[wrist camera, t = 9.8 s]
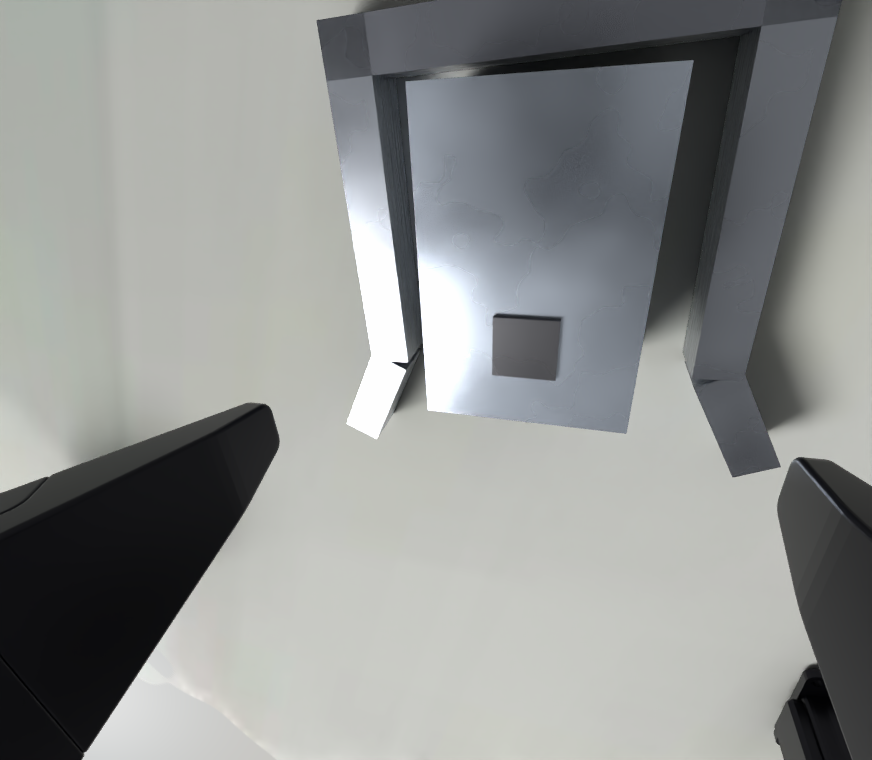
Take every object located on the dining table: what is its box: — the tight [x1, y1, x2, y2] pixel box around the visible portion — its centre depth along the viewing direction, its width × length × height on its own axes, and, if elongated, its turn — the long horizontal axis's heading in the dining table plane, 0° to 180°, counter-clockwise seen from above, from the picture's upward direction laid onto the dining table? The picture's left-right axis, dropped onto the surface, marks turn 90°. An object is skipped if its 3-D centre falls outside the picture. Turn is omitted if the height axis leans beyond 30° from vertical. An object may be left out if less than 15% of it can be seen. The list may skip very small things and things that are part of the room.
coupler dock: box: [317, 0, 842, 477], centre depth 16 cm, size 17×15×2 cm
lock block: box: [405, 60, 694, 434], centre depth 15 cm, size 6×9×6 cm, turn 3°
